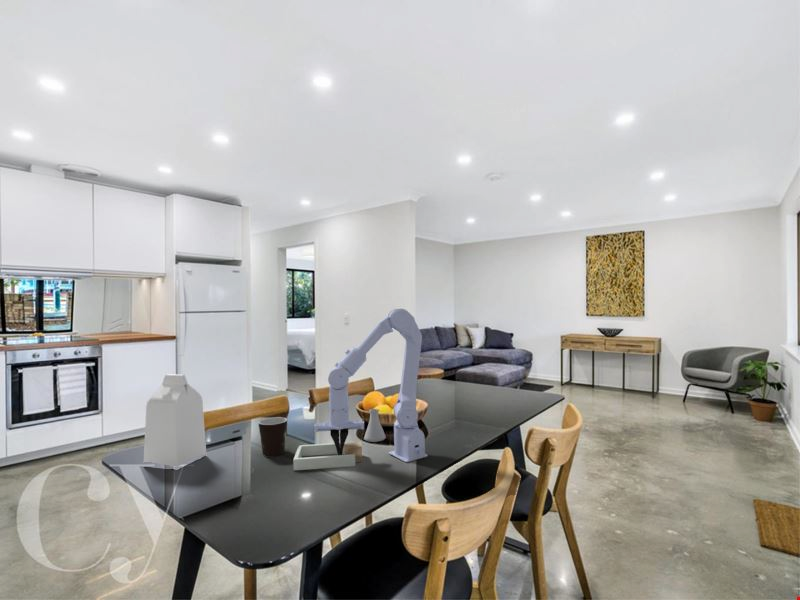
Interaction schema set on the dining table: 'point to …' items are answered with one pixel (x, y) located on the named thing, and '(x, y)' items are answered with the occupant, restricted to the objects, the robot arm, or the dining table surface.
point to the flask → (374, 428)
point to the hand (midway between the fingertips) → (340, 454)
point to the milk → (174, 423)
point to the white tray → (321, 457)
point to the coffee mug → (273, 435)
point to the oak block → (354, 450)
